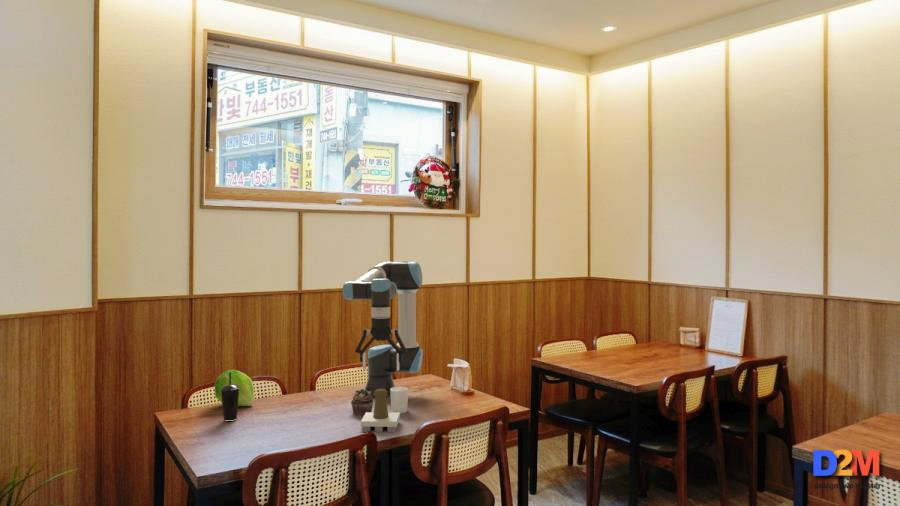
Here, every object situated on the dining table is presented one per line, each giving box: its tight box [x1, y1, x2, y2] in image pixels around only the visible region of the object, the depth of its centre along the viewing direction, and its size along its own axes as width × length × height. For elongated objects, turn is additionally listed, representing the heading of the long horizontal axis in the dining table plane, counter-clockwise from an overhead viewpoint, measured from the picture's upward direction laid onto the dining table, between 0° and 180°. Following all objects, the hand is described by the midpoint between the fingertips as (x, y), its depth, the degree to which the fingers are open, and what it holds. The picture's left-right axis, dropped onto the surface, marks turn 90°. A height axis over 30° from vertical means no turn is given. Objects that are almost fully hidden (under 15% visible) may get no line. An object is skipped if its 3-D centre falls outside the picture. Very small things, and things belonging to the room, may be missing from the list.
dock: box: [360, 411, 401, 433], centre depth 230 cm, size 12×14×4 cm
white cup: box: [390, 386, 409, 415], centre depth 251 cm, size 8×8×10 cm
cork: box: [373, 389, 389, 419], centre depth 230 cm, size 6×6×11 cm
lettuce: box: [214, 369, 255, 407], centre depth 261 cm, size 17×20×16 cm
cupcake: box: [350, 388, 374, 416], centre depth 250 cm, size 10×10×10 cm
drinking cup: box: [220, 372, 240, 421], centre depth 239 cm, size 8×8×20 cm
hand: (381, 370), depth 230 cm, fingers open, 13 cm apart
